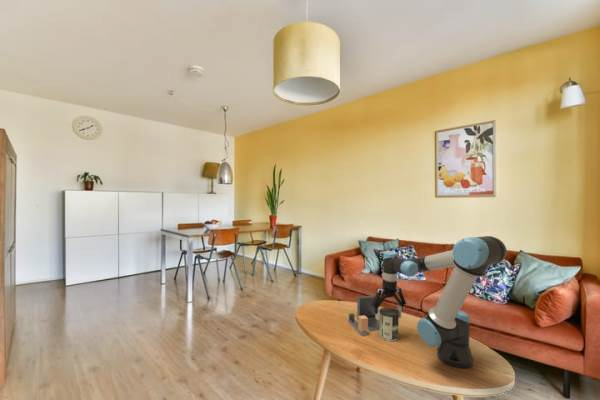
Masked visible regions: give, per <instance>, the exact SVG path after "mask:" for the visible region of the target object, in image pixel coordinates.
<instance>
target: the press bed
mask: <svg viewBox="0 0 600 400" xmlns="http://www.w3.org/2000/svg"><path fill="white" fill-rule="evenodd" d="M375 295H376V294H375ZM375 295H363V296H357V299H356V300H357V301H356V302H357V303H356V305H357V306H356V310H357V312H356V320H358V316H363V315H365V316H366V317H367V318H368V331H370V332H374V331H379V320H380V317H379V320H377V319H376V318H375V316H376V313H375V312H374V309H375V307H373V306H372V305H371V304H372V302H373V300H374V297H375Z"/></svg>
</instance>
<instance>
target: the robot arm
mask: <svg viewBox="0 0 600 400" xmlns="http://www.w3.org/2000/svg"><path fill="white" fill-rule="evenodd" d="M507 253H508V251H507V246H506V244H505V243H504V241H502V240H501V239H499V238H497V237H494V236H491V235H485V236H478V237H477V236H467V237H465V238H461V239H459V240H457V242H456V243H455V244H454V245H453V248H452V249H451V250H447V251H442V252H438V253H434V254H430V255H425V256H421V257H415V258H414V257H412V258H406V259H405V258H401V257H399V254H398V252H397V251H392V250H387V251H384V252H383V259H382V260H383V261H382V289H380V288H377V289H376V294H375V297H374V300H373V302H372V304H371V305H372V306H373V307H375V309H374V312H375V313H376V316H375V318H376V319H377V320H379V318H380V309H381V308H380V306H381V305H382V303H383V302H384V301H385V300H386V299H387V298H394V299H395V301H396V302H397V303H398V304H397V309H396V310H397V311H398V312H399V319H402V312H403V311H404V310H403V307H405V305H407V301H406V300H405V297H404V295H403V292H402V288H401V287H398V281H397V280H398V273H399V274H401V275H404V276H406V277H414V276H416V275H417V274H419V273H425V272H426V273H427V272H430V271H437V270H442V269H447V268H452V267H453V270H452V272H451V274H450V276H449V278H448V280H447V282H446V284H445V286H444V288H443V290H442V291H441V294H440V295H439V298H438V300H437V302H436V304H435V306H434V307H431V308H429V310H428V312H427V313H426V315H425V317H422V318H420V319H419V320H418V321H417V324H416V329H417V332H418V336H419V337H420V339H421V340H422V341H423V342H424V343H425V344H426V345H427V346H430V347H437V349H436V356H437V358H438V359H439V360H440V361H441V362H442V363H445V364H446V365H449V366H450V367H451V366H452V367H454V368H460V369H469V368H471V367H473V365H474V357H473V355H472V351H471V347H470V331H471V328H470V327H471V325H470V324H471V319H470V315H469V314H468V313H467V312H466V311H463V310H461V308H462V307H463V304H464V303H465V301H466V299H467V298H468V295H469V293H470V292H471V290H472V288H473V287H474V284H475V283H476V281H477V279H478V278H481V277H482V278H483V277H484V276H485V274H486V272H487V270H488V269H489V267H490V266H493V265H497V264H500V263H502V262H503V261H504V260H505V259H506V257H507ZM396 293H397V294H396Z"/></svg>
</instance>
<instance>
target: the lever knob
mask: <svg viewBox="0 0 600 400" xmlns="http://www.w3.org/2000/svg"><path fill="white" fill-rule="evenodd" d="M357 322H358V329H359V330H360V331H361V332H363V331H367V332H368V331H369V330H368V318H367V317H366V316H365V315H363V316H358V319H357Z"/></svg>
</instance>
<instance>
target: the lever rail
mask: <svg viewBox="0 0 600 400" xmlns="http://www.w3.org/2000/svg"><path fill="white" fill-rule="evenodd" d="M348 323H349V324H350V325H351V327H353V328H354V329H355V330H356V331H357V332H358V334H360V335H361V336H362V337H363V336H368V331H363V332H361V331H360V330H359V329H358V320H357V319H355V313H353V312H352V313H348Z"/></svg>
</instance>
